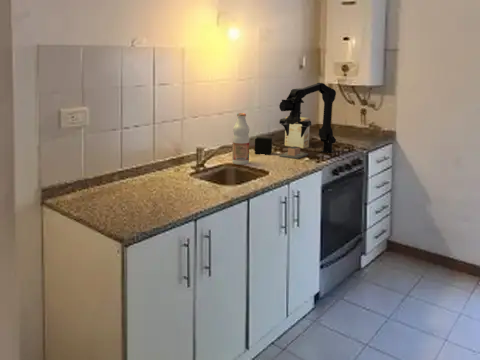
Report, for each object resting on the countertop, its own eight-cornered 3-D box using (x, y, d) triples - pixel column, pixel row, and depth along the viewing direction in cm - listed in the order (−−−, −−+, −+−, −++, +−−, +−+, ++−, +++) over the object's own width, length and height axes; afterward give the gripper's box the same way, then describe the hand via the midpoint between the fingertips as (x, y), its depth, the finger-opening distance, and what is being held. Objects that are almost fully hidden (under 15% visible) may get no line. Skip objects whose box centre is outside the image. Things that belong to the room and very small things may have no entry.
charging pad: (290, 152, 332) (290, 151, 331) (308, 155, 326) (308, 153, 325) (279, 156, 319) (279, 155, 319) (297, 159, 313) (297, 157, 313)
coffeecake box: (309, 147, 351) (310, 117, 346) (303, 148, 345) (304, 118, 340) (290, 144, 360) (291, 115, 355) (284, 145, 354) (285, 116, 350)
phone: (293, 152, 327) (293, 146, 326) (300, 153, 324) (300, 147, 323) (287, 154, 320) (287, 148, 319) (294, 155, 318) (294, 149, 317)
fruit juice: (229, 162, 302) (229, 113, 295) (242, 160, 307) (243, 112, 300) (238, 165, 294) (239, 115, 287) (252, 163, 300) (253, 114, 293)
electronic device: (270, 155, 324) (271, 138, 321) (254, 154, 326) (254, 138, 323) (271, 153, 328) (272, 137, 325) (255, 152, 330) (256, 137, 327)
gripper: (275, 110, 314) (274, 136, 318) (304, 113, 304) (303, 140, 308) (284, 108, 323) (283, 134, 327) (312, 111, 314) (311, 137, 317)
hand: (294, 136), depth 320 cm, fingers open, 9 cm apart
